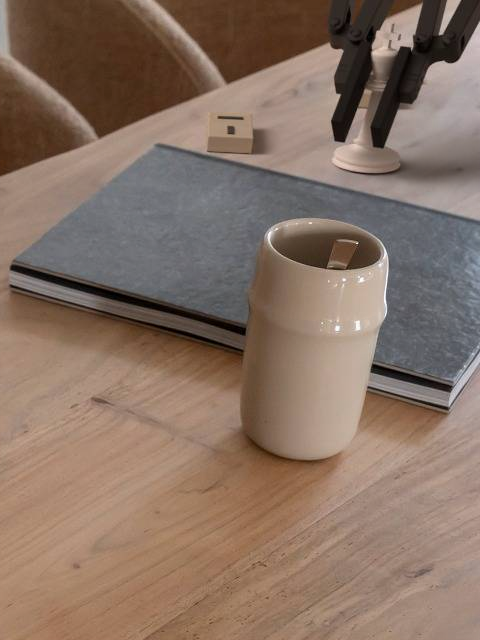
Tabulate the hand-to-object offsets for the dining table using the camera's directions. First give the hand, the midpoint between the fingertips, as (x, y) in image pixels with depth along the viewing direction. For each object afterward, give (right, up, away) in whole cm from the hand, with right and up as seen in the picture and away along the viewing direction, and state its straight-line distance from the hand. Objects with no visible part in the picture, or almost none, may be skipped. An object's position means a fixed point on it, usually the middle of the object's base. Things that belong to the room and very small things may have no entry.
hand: (357, 134), depth 105 cm
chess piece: (+2, -1, +5) cm, 5 cm away
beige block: (+8, +10, +21) cm, 24 cm away
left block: (-7, +3, +10) cm, 13 cm away
